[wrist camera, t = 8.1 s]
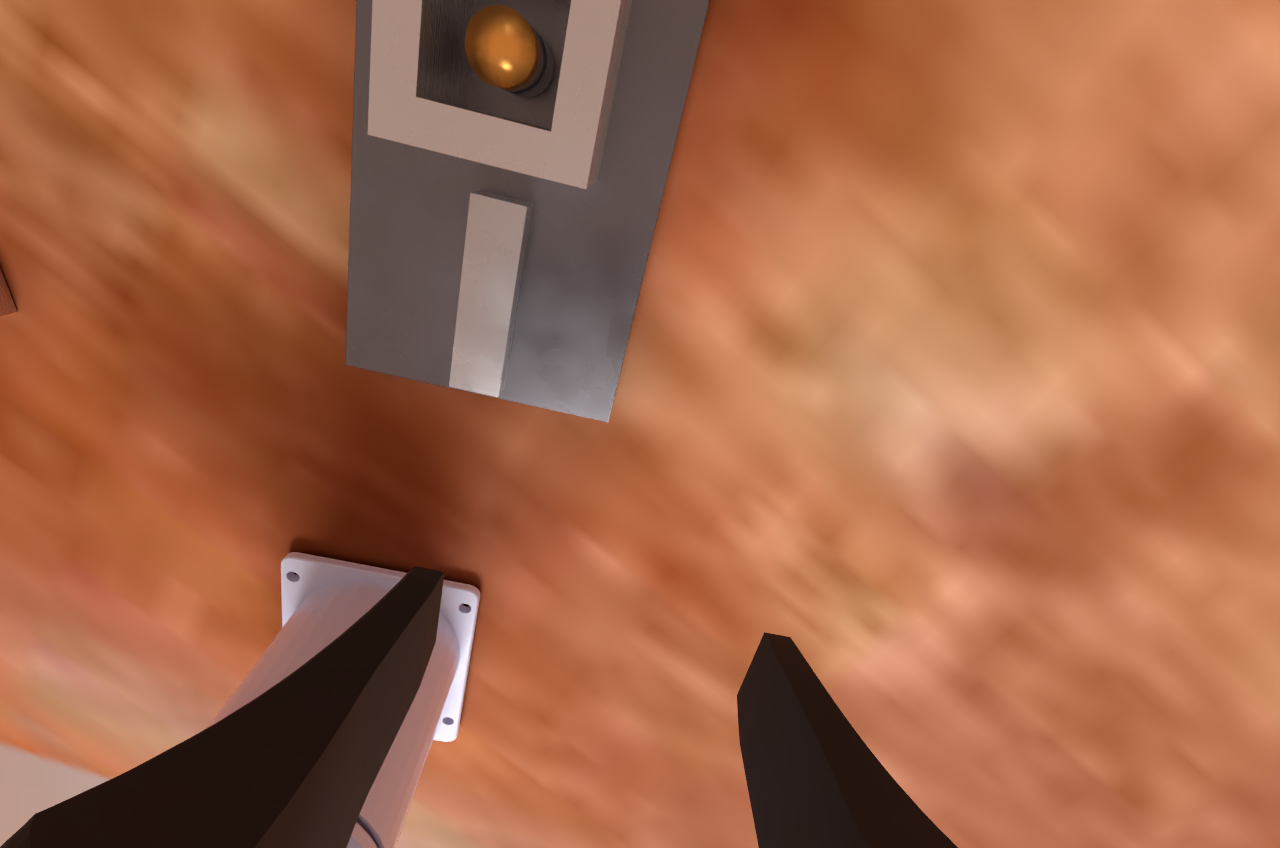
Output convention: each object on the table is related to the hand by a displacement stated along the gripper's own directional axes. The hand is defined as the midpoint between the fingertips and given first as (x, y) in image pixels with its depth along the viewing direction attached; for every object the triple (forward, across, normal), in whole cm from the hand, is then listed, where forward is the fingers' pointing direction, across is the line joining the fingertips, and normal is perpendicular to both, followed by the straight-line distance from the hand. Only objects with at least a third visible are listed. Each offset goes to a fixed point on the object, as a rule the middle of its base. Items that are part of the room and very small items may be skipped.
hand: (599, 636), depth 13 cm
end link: (+9, +5, -11) cm, 15 cm away
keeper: (+10, +5, -8) cm, 14 cm away
